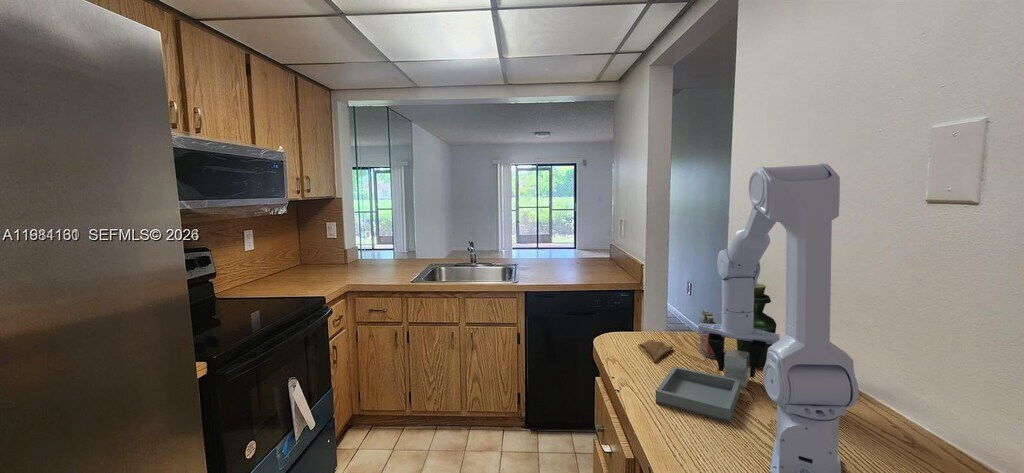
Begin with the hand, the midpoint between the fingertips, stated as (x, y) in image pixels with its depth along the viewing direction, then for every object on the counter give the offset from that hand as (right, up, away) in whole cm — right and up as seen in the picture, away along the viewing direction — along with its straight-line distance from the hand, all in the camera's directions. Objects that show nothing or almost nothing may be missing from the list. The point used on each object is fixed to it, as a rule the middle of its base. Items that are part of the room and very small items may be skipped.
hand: (736, 372), depth 84 cm
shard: (-10, -1, +17) cm, 19 cm away
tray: (-10, -3, -6) cm, 12 cm away
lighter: (+1, 0, +15) cm, 15 cm away
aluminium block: (0, -2, 0) cm, 2 cm away
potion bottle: (+9, -1, +9) cm, 12 cm away
